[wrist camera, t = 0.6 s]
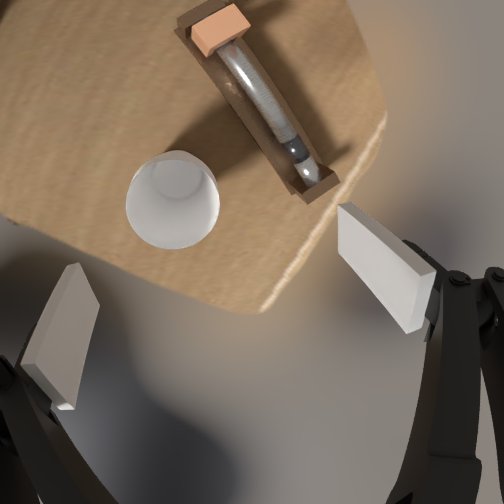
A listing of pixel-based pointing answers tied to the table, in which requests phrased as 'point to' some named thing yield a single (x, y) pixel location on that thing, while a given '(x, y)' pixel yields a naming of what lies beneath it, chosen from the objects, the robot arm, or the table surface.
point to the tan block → (219, 29)
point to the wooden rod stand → (260, 108)
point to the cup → (173, 200)
